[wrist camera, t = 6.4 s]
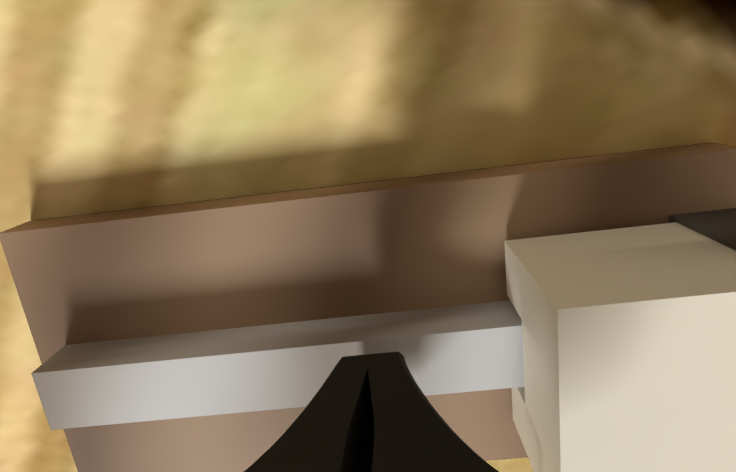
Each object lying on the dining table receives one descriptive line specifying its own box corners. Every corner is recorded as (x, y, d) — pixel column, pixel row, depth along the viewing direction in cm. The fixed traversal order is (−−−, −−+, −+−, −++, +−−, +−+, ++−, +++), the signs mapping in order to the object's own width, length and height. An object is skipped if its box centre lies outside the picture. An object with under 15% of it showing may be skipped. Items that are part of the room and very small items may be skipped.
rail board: (711, 142, 13) (848, 168, 9) (693, 414, 15) (798, 525, 12) (29, 220, 14) (-103, 273, 10) (106, 465, 16) (22, 582, 13)
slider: (676, 222, 12) (807, 285, 8) (667, 405, 14) (775, 528, 10) (504, 240, 12) (557, 309, 9) (512, 419, 14) (561, 544, 10)
